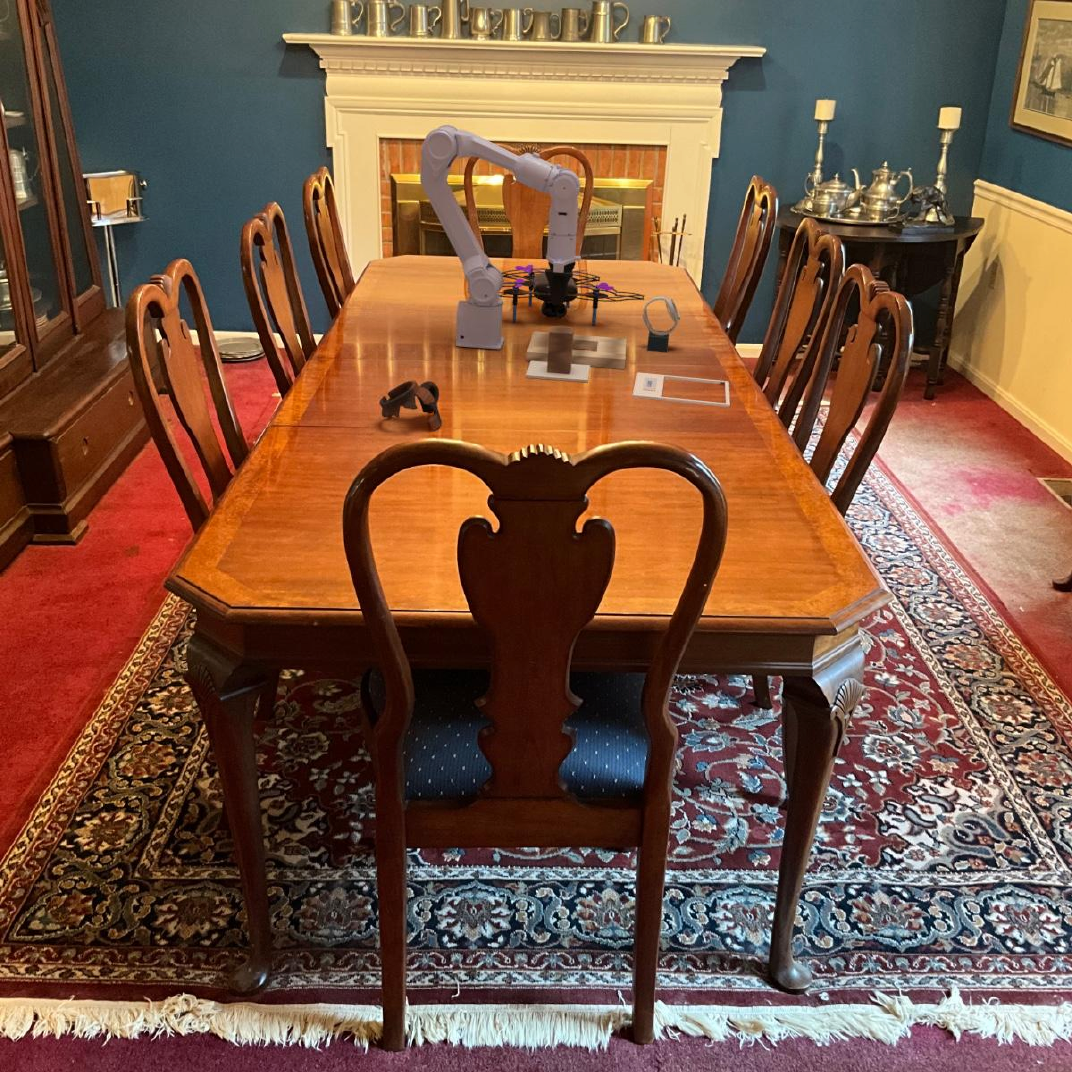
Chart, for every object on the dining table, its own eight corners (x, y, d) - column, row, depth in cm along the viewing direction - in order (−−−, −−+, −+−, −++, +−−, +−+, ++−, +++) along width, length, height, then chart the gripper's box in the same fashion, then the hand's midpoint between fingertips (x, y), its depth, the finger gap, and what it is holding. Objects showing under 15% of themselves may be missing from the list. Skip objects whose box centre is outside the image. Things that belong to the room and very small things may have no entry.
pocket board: (526, 361, 216) (526, 351, 215) (533, 340, 230) (533, 331, 229) (624, 369, 215) (625, 359, 214) (625, 347, 229) (626, 338, 228)
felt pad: (525, 377, 206) (525, 375, 206) (530, 362, 215) (530, 360, 215) (587, 382, 205) (587, 380, 205) (589, 367, 214) (590, 365, 214)
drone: (468, 283, 233) (467, 257, 258) (466, 326, 237) (465, 297, 263) (648, 291, 237) (629, 264, 262) (643, 333, 241) (626, 303, 266)
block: (546, 372, 208) (549, 332, 204) (548, 365, 212) (551, 326, 209) (569, 374, 208) (572, 334, 204) (571, 367, 212) (574, 328, 208)
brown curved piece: (431, 440, 174) (405, 398, 170) (389, 452, 179) (363, 411, 176) (463, 403, 182) (439, 361, 179) (422, 415, 188) (398, 375, 184)
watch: (676, 353, 228) (682, 302, 223) (638, 349, 228) (643, 298, 224) (676, 346, 233) (682, 296, 228) (640, 342, 233) (645, 292, 229)
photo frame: (637, 371, 211) (728, 380, 209) (636, 376, 212) (727, 385, 210) (632, 393, 198) (729, 403, 196) (632, 399, 199) (728, 409, 197)
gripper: (580, 241, 207) (575, 310, 213) (584, 228, 220) (579, 294, 226) (544, 238, 208) (540, 308, 214) (550, 226, 221) (546, 291, 227)
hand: (558, 300), depth 220 cm, fingers open, 7 cm apart
